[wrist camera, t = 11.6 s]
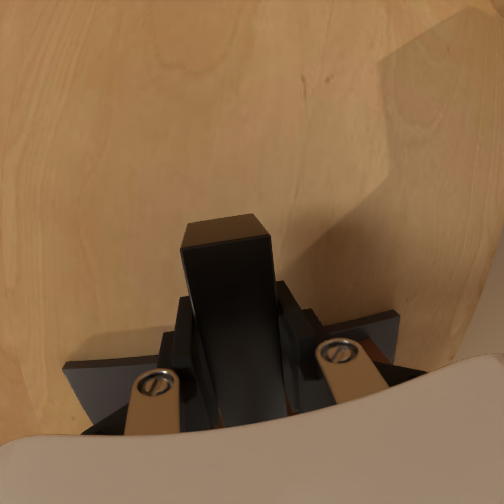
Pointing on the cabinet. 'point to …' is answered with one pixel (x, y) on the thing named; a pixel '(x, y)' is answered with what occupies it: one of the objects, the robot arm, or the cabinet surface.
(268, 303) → the cake knife
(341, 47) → the cabinet surface
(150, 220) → the cabinet surface
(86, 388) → the cake
